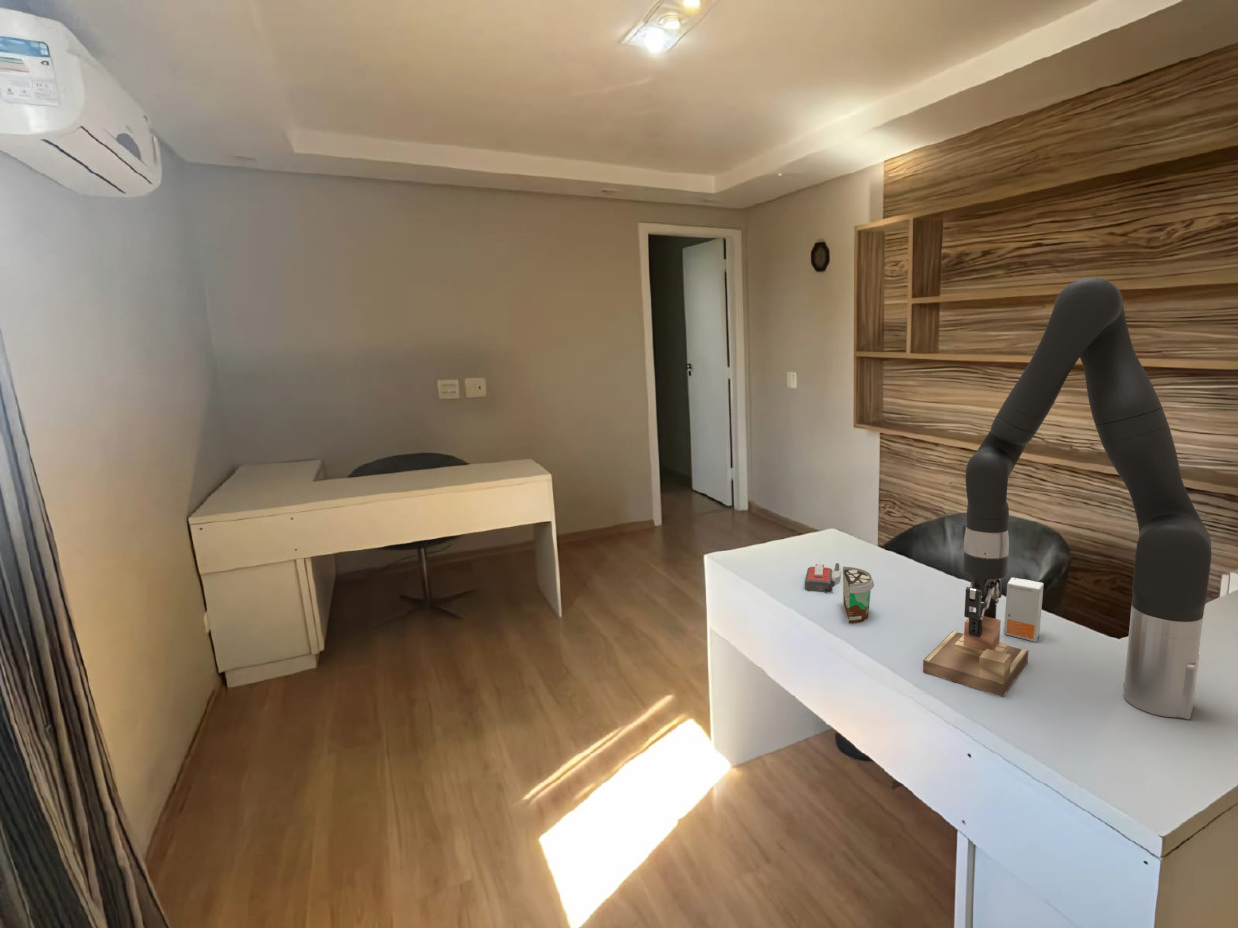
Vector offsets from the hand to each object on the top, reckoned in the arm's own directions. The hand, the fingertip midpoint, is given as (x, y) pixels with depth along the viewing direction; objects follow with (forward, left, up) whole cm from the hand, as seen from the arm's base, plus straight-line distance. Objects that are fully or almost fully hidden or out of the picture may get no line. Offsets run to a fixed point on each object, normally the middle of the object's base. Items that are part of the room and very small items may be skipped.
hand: (982, 628), depth 127 cm
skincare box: (-3, -17, -7) cm, 19 cm away
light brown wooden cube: (-5, +9, -5) cm, 11 cm away
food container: (+28, -6, -7) cm, 30 cm away
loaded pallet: (0, 0, -5) cm, 5 cm away
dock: (0, +3, -7) cm, 8 cm away
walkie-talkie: (+46, -21, -8) cm, 51 cm away
